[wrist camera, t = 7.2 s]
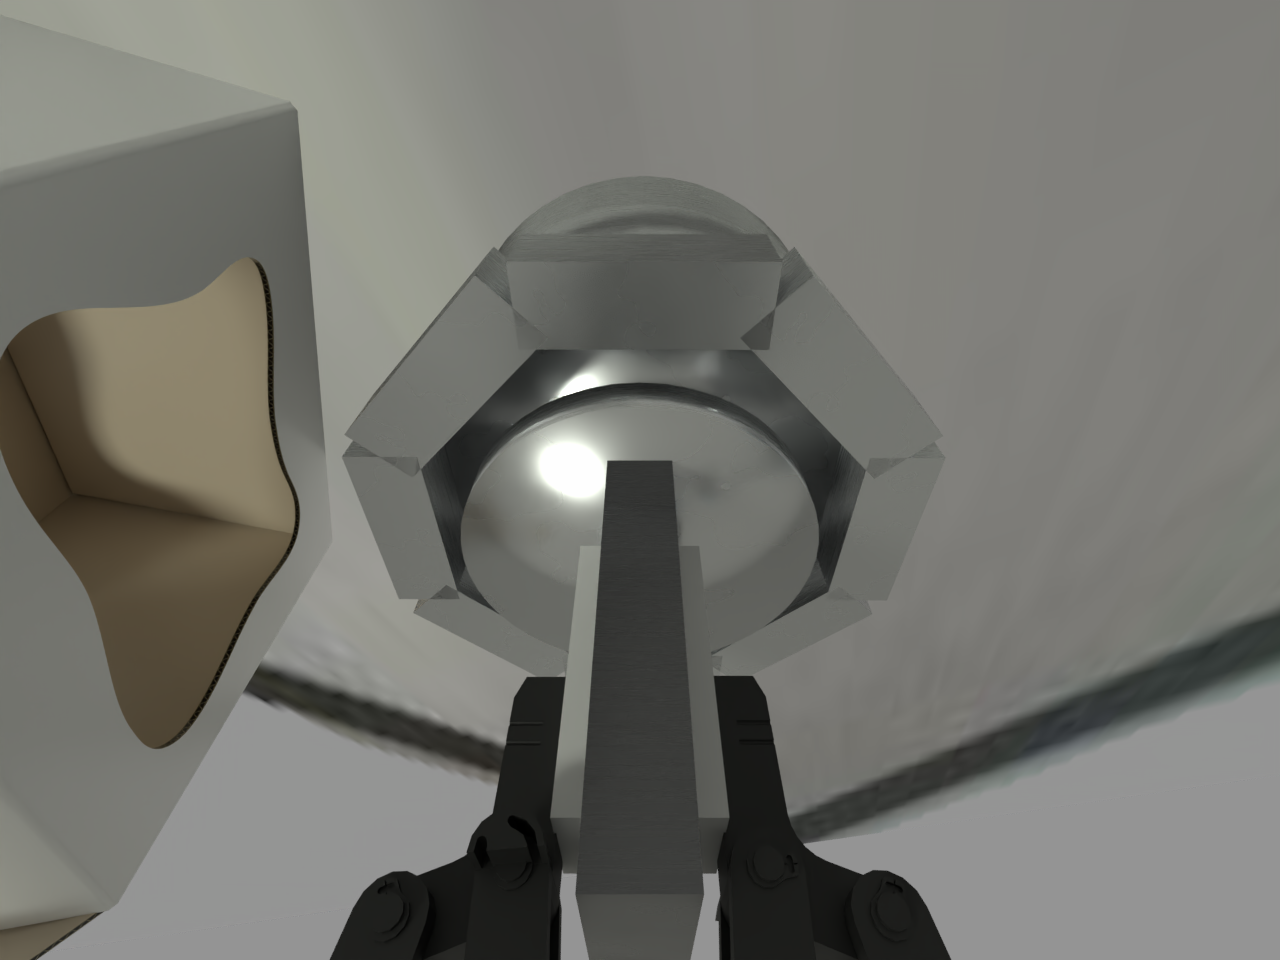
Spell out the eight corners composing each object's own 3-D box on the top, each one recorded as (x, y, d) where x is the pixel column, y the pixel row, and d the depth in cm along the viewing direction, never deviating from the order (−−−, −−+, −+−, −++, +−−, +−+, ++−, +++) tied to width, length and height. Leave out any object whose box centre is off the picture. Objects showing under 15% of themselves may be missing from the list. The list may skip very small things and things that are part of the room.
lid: (842, 382, 14) (1103, 848, 6) (780, 632, 20) (871, 1024, 12) (436, 382, 14) (176, 848, 6) (498, 632, 20) (408, 1024, 12)
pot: (867, 160, 21) (1026, 262, 12) (777, 570, 34) (822, 756, 26) (420, 160, 21) (263, 261, 12) (507, 569, 34) (461, 754, 26)
